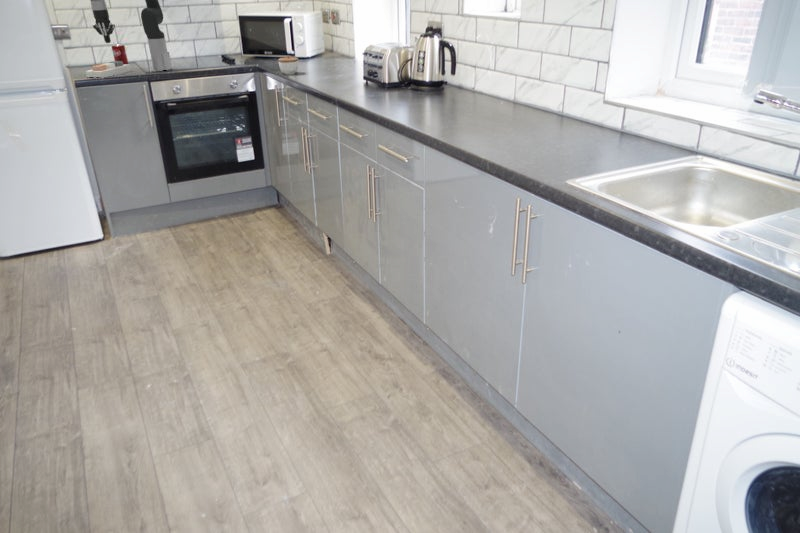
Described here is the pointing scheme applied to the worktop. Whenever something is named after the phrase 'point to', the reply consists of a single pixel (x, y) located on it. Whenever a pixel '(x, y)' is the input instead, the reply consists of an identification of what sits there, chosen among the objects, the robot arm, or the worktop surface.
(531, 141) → the worktop surface
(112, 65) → the ivory key
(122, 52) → the soda can
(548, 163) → the worktop surface
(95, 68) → the terracotta key
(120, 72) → the keypad housing
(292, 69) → the lidded jar
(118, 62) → the charcoal key
